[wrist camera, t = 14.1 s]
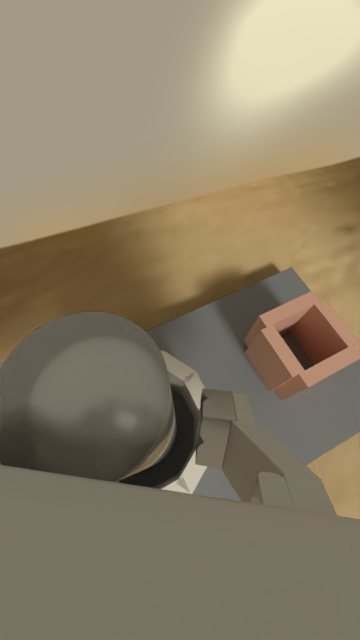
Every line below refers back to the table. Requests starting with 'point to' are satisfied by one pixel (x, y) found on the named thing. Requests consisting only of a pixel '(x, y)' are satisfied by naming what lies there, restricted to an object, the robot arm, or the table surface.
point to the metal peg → (86, 399)
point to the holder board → (259, 376)
